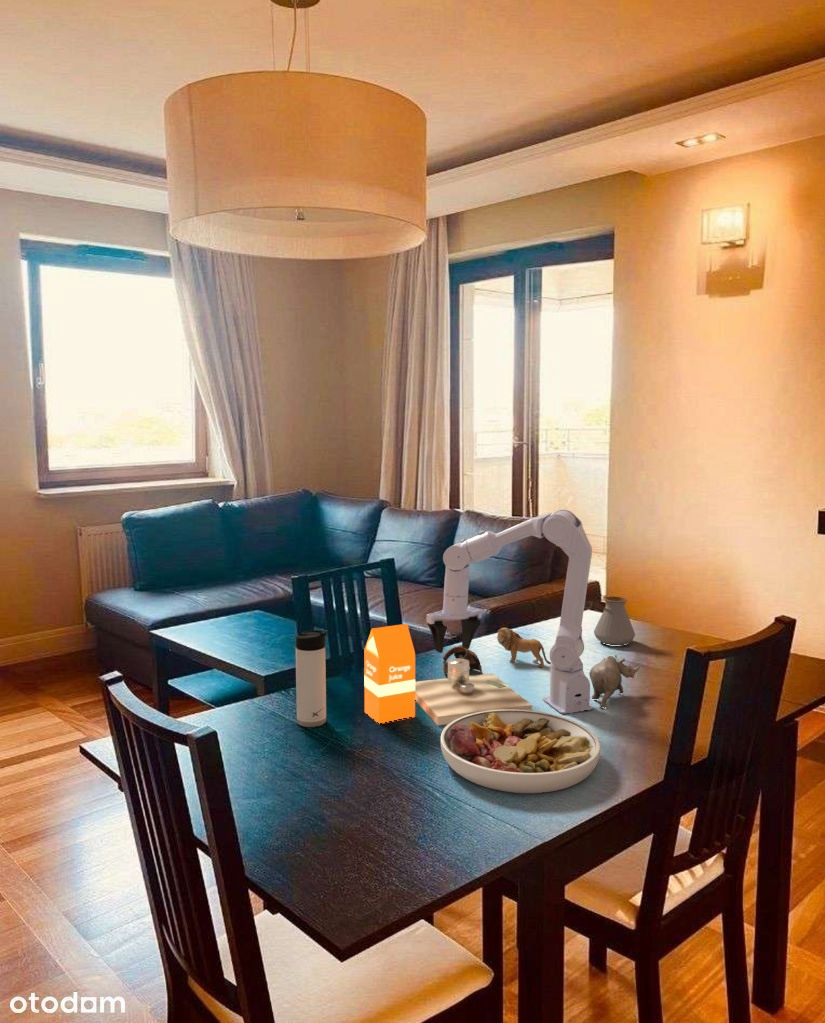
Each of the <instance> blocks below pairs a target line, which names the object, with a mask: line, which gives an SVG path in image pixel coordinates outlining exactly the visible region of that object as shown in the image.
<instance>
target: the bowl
mask: <svg viewBox="0 0 825 1023" xmlns="http://www.w3.org/2000/svg"><path fill="white" fill-rule="evenodd" d="M440 749H441V753H442V756H443V758H444V759H445V762H446V763H447V764H448V765H449V767H450V768H451V769H452V770H453V771H454V772H455V773H456V774H458V775H459V776H461V777H462V778H463V779H466V780H467V781H470V782H471V783H474V784H475V785H478V786H482V787H485V788H488V789H492V790H495V791H496V790H497V791H500V792H506V793H514V794H516V793H517V794H541V793H543V792H544V793H549V792H555V791H560V790H563V789H567V788H569V787H572V786H575V785H577V784H579V783H580V782H582V781H583V780H585V779H586V778H587V777H590V775H591V774H592V773H593V771H594V770H595V768H596V767H597V765H598V762H599V759H600V755H601V744H600V741H599V739H598V736H596V734H595V733H593V731H591V730H590V729H589V728H587V727H586V726H584V725H583V724H581V723H579V722H576V721H575V720H572V719H570V718H567V717H563V716H560V715H556V714H553V713H548V712H544V711H543V712H542V711H537V710H532V711H531V710H517V709H502V710H489V711H482V712H477V713H473V714H469V715H466V716H463V717H460V718H458V719H456V720H454V721H452V722H451V723H449V724H447V725H445V727H444V728H443V729H442V732H441V735H440ZM544 793H543V794H544Z"/></svg>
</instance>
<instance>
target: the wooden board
mask: <svg viewBox="0 0 825 1023" xmlns="http://www.w3.org/2000/svg"><path fill="white" fill-rule="evenodd" d="M466 683H471V684H473V685H474V692H473V693H471V694H464V693H461V692H460V687H459V686H458V685H457V684H456V683H452V682H449V681H448V677H446V678H437V679H430V680H429V679H427V680H419V681H415V700H416V701H415V703H417V704H418V706H420V708H421V709H422V710H423V711H424V712H425V713H426V714H427V715H428V716H429V718H430V719H431V720H432V721H433V722H434V723H435V724H436V726H447V725H448V724H449V723H451V722H452V721H454V720H456V719H458V718H460V717H463V716H466V715H469V714H473V713H477V712H482V711H489V710H502V709H517V710H531V711H533V705H532V703H530V702H528V701H527V700H526V699H525V698H523V696H521V695H520V694H518V692H516V691H515V690H514V689H513V688H511V687H510V686H509V685H507V684H506V683H505V681H503V680H501V679H500V678H499V677H497V676H496V675H495V674H494V673H485V674H482V675H480V674H474V675H469V681H468V682H466Z"/></svg>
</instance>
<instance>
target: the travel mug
mask: <svg viewBox="0 0 825 1023" xmlns="http://www.w3.org/2000/svg"><path fill="white" fill-rule="evenodd" d="M327 633H328V632H327V631H326V630H320V629H315V630H306V631H303V632H300V633H298V634H297V635H296V636H295V682H296V683H295V687H296V689H295V690H296V697H295V698H296V723H297V724H298V725H299V726H300V727H304V728H305V727H306V728H316V726H317V727H320V726H322V725H324V724H325V723H326V722H327V693H326V692H327V689H326V688H327V683H326V682H327V679H326V678H327V676H326V672H327V671H326V670H327V668H326V661H327V660H326V636H328V635H327Z"/></svg>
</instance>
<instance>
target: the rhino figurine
mask: <svg viewBox="0 0 825 1023" xmlns="http://www.w3.org/2000/svg"><path fill="white" fill-rule="evenodd" d="M617 657H618V656H617V654H614V656H613V655H612V656H611V655H610V656H607V658H603V659H602V660H601V661H600V662H599V663H596V664H594V666H592V667H591V669H590V671H589V678H590V681H591V682H590V683H591V685H592V688H593V694H592V695H591V698H592V699H598V700H599V699H600V697H601V695H603V696H602V698H601V702H600V705H599V707H600V706H601V707H604V708H605V707H607V702H608V700H609V698H611V697H612V695H614V693H615V692H616V691H619V693H623V694H624V688H623V686H622V681H623V679H622V676H624V677H625V678H627V679H628V678H631V679H633V678H634V679H635V675H636V673H638V671H640V670H639V669H640V668H641V666H640V665H639V666H638V667H636V668H633V667H632V666H631V665H630V664H629V665H627V664H624V662H625V661H626V658H625V657H621V659H616V658H617ZM591 698H590V699H591ZM601 707H600V708H601ZM607 708H608V707H607Z"/></svg>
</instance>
